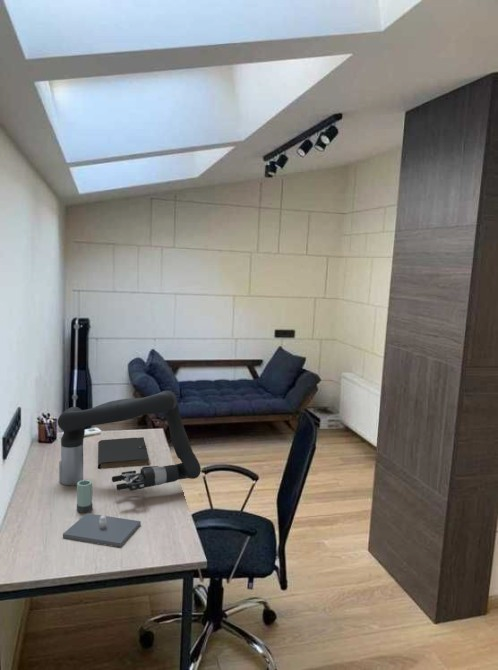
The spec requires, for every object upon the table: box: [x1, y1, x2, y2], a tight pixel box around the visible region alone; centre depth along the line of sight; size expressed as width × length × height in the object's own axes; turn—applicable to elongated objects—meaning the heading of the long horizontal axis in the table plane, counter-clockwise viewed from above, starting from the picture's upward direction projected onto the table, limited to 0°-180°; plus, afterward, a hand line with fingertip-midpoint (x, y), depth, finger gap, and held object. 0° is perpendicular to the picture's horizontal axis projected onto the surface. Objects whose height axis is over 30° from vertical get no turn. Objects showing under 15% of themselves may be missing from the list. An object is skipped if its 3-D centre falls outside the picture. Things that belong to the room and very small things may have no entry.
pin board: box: [62, 512, 141, 548], centre depth 181 cm, size 22×16×6 cm
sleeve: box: [76, 479, 93, 514], centre depth 197 cm, size 6×6×11 cm
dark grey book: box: [97, 436, 150, 469], centre depth 257 cm, size 33×4×24 cm
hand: (114, 483), depth 201 cm, fingers open, 8 cm apart
